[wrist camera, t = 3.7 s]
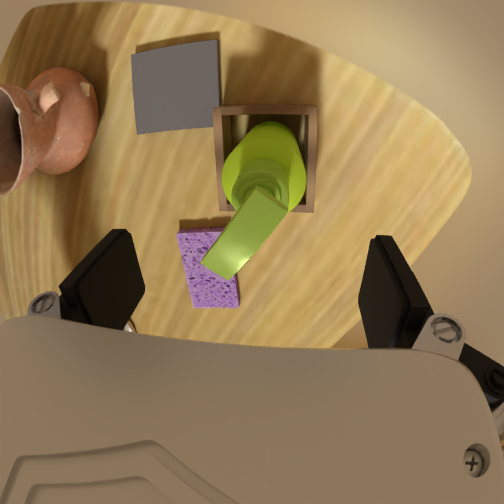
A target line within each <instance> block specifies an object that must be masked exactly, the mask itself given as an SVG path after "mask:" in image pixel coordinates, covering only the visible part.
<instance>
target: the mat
mask: <svg viewBox="0 0 504 504" xmlns="http://www.w3.org/2000/svg"><path fill="white" fill-rule="evenodd" d="M131 62H132V81H133V96H134V108H135V119H136V128H137V134H145V133H152V132H161V131H170V130H180V129H191V128H204V127H214V125H213V108H214V107H219V106H221V93H220V69H219V41H218V40H209V41H200V42H193V43H186V44H180V45H174V46H169V47H163V48H158V49H154V50H149V51H145V52H140V53H136V54H132V55H131Z"/></svg>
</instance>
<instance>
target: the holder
mask: <svg viewBox="0 0 504 504" xmlns="http://www.w3.org/2000/svg"><path fill="white" fill-rule="evenodd" d="M317 112H318V107H316V106H313V105H293V104H249V105H225V106H219V107H214V108H213V125H214V141H215V157H216V172H217V186H218V199H219V211H236V210H235V209H234V207H233V205H232V204H231V203H230V202H229V200H228V199H227V197H226V195H225V193H224V190H223V187H222V179H221V177H222V169H223V166H224V163H225V161H226V159H227V158H228V156H229V155H230V153H231V152H232V136H231V115H244V114H295V115H305V131H304V167H305V171H306V178H307V182H306V189H305V192H304V195H303V197H302V199H301V200H300V202H299V203H298V205H297V206H296V207H295V208H294V209H292V210H291V211H290V212H307V213H314V198H315V179H316V155H317Z"/></svg>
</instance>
